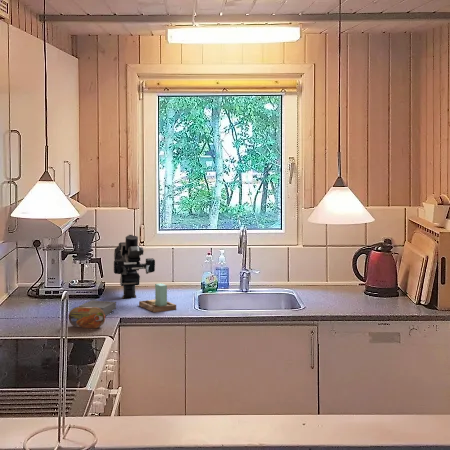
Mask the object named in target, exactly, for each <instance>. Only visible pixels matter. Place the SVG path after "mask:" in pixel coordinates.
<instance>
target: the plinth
mask: <svg viewBox="0 0 450 450" xmlns="http://www.w3.org/2000/svg"><path fill="white" fill-rule="evenodd" d="M116 303H117V302H116V301H105V300H93V299H92V300H89V301H87V302H84V303H82V304H79V305H78V307H98V308H100V309H102V310H103V311H104V313H105V317H107V316H109V315H110V313H111V314H113V313H114V310H116V309H117V304H116ZM112 312H113V313H112ZM108 314H109V315H108ZM106 315H107V316H106Z"/></svg>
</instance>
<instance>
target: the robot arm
mask: <svg viewBox="0 0 450 450" xmlns="http://www.w3.org/2000/svg"><path fill="white" fill-rule="evenodd" d="M138 240H139V236H137V235H133V234H128V235H127V236H125V241H124V242H119V243H118V245H117V247H115V248H114V252H113V259H114V260H113V273H114V274H116V275H120V276H119V285H120V287H122V290H123V294H122V300H124V299H125V300H127V299H128V300H129V299H137V294H136V286H140V280H141V275H140V273H139V272H138V271H140V270H142V269H143V270H145V274H146V275H148V274H151V273H155V270H156V259H155V258H150V257H148V258H145V263H144V262H143V263H141V262H140V261H141V256H143V255H144V251H145V250H144V247H142V246H139V243H138Z"/></svg>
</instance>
